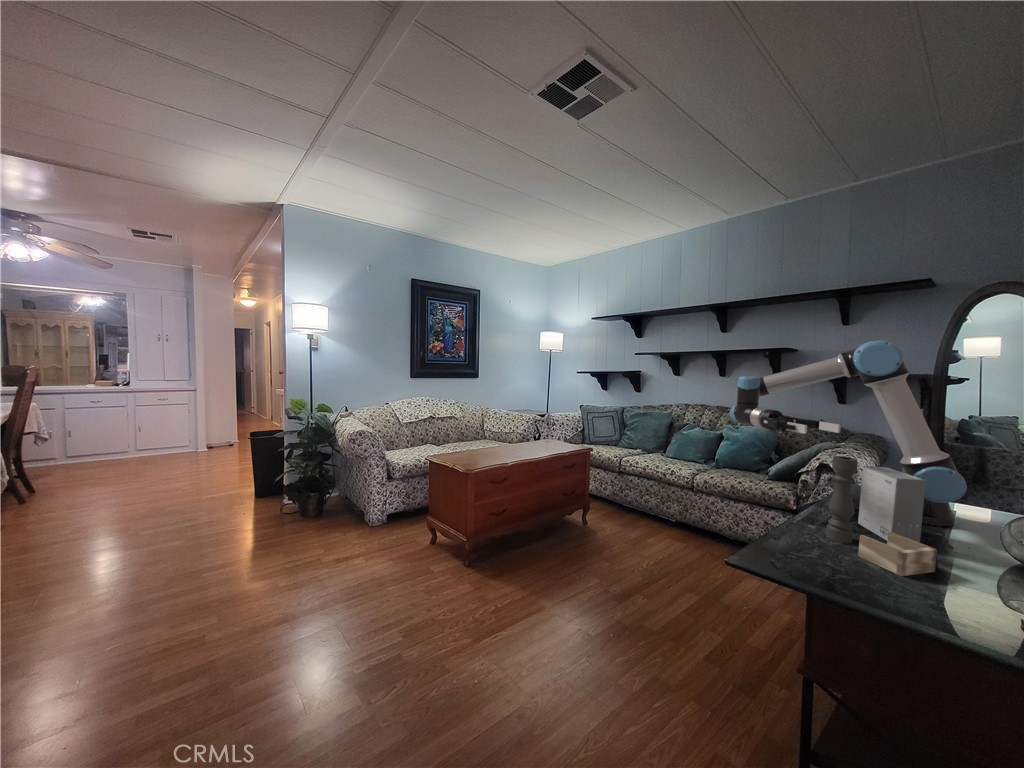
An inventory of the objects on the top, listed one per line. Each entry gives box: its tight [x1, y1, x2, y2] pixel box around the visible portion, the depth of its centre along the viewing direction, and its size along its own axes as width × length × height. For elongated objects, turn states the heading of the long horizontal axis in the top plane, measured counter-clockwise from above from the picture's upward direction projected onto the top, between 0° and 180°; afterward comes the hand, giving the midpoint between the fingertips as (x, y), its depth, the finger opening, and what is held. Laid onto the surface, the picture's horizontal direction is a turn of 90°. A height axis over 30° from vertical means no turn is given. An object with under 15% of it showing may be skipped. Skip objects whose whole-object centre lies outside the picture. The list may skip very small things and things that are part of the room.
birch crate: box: [857, 532, 938, 577], centre depth 105 cm, size 11×10×6 cm
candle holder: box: [825, 455, 859, 545], centre depth 118 cm, size 6×6×25 cm
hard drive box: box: [857, 465, 926, 543], centre depth 123 cm, size 16×8×20 cm, turn 168°
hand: (823, 429), depth 127 cm, fingers open, 13 cm apart
